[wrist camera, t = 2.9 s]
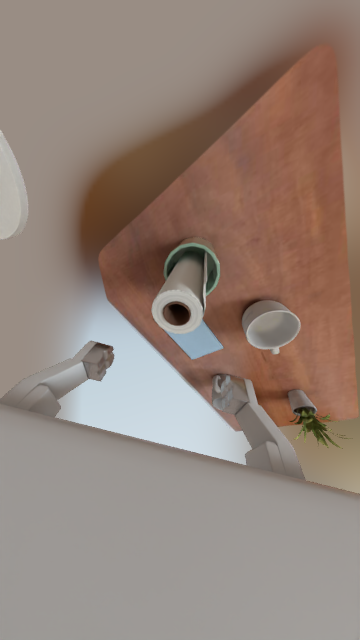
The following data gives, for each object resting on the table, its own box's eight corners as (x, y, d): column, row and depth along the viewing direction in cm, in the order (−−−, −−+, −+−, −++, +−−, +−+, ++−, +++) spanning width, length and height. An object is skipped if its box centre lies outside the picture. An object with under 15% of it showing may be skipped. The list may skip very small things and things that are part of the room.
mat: (155, 319, 45) (154, 320, 44) (187, 299, 40) (187, 300, 39) (192, 358, 53) (192, 359, 52) (223, 346, 47) (223, 348, 47)
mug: (238, 382, 57) (244, 408, 49) (217, 387, 60) (219, 412, 53) (224, 363, 52) (228, 389, 44) (202, 370, 56) (202, 395, 48)
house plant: (333, 388, 51) (377, 448, 38) (304, 406, 59) (333, 460, 46) (293, 378, 51) (324, 435, 38) (270, 397, 59) (289, 449, 46)
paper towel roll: (183, 280, 36) (162, 338, 19) (174, 255, 33) (141, 297, 16) (212, 272, 34) (218, 329, 17) (206, 244, 31) (207, 280, 14)
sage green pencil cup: (169, 277, 37) (161, 292, 29) (176, 231, 31) (168, 236, 24) (208, 286, 37) (209, 304, 29) (223, 242, 31) (229, 251, 24)
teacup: (238, 298, 37) (245, 316, 31) (287, 290, 34) (306, 307, 28) (241, 339, 45) (247, 360, 38) (281, 335, 42) (295, 357, 35)
